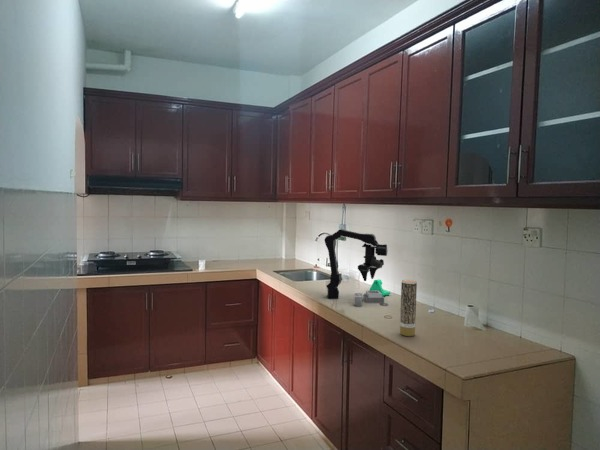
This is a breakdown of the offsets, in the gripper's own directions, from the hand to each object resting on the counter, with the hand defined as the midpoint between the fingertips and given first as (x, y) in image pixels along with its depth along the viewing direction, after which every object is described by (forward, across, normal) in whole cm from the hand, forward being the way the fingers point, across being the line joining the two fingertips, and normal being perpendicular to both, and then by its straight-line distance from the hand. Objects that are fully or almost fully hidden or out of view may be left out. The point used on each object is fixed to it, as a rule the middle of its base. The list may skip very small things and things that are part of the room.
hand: (368, 279), depth 247 cm
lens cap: (+13, -2, -12) cm, 18 cm away
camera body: (+13, +2, -2) cm, 14 cm away
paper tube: (+13, -43, -43) cm, 62 cm away
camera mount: (+14, +21, +2) cm, 25 cm away
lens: (+13, -14, -1) cm, 19 cm away
